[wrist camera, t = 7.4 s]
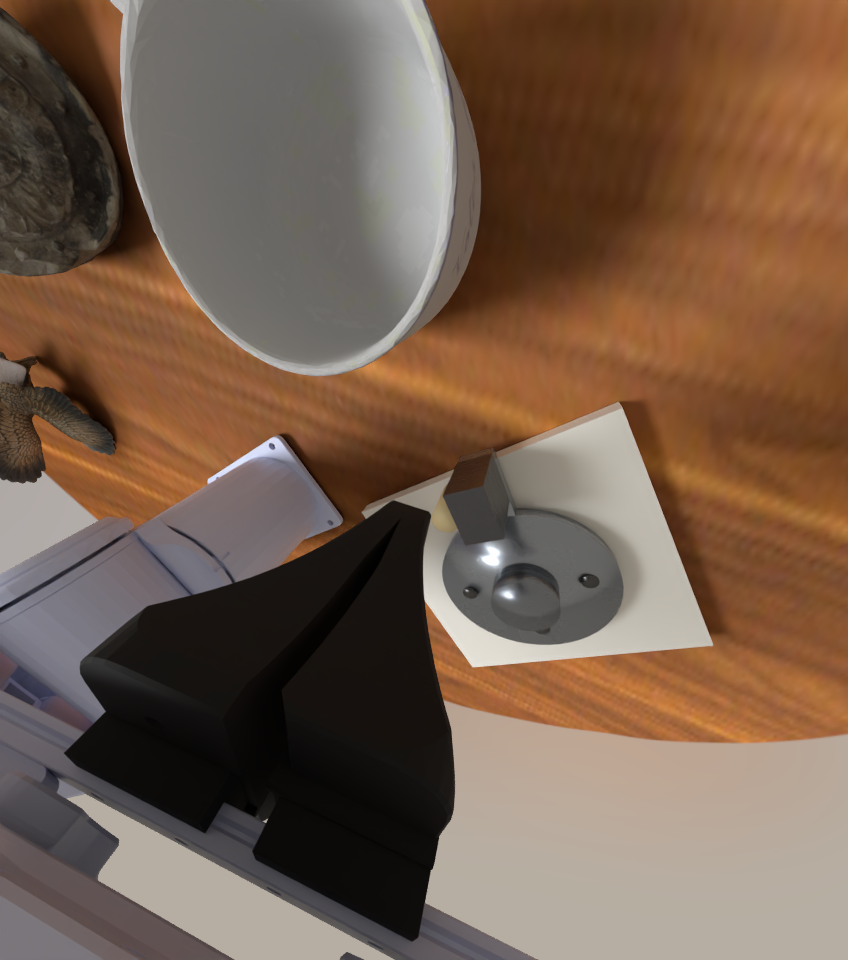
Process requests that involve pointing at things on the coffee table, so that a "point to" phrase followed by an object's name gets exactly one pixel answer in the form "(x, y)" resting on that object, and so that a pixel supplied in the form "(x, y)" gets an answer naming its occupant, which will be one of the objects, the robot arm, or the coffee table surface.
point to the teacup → (302, 168)
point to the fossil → (50, 164)
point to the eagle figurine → (9, 428)
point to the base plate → (599, 506)
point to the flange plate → (524, 562)
